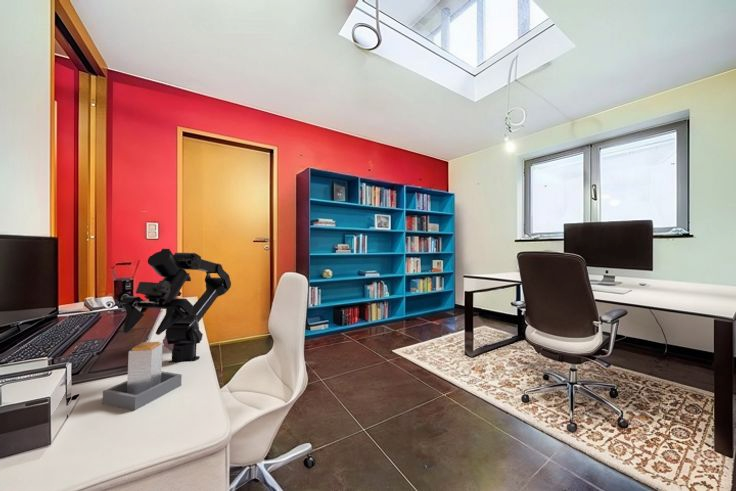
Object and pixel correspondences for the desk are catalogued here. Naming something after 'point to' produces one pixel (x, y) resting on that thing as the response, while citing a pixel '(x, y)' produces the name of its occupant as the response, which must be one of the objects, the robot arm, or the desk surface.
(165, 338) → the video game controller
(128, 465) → the desk surface
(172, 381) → the case
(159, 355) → the block
